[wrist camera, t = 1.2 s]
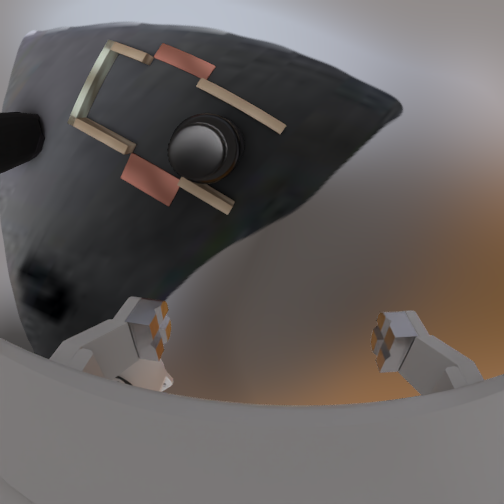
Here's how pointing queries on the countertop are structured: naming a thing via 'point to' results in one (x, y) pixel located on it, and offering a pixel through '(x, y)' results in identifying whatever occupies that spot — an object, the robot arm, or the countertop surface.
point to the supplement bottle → (206, 148)
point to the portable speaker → (19, 139)
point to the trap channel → (136, 168)
